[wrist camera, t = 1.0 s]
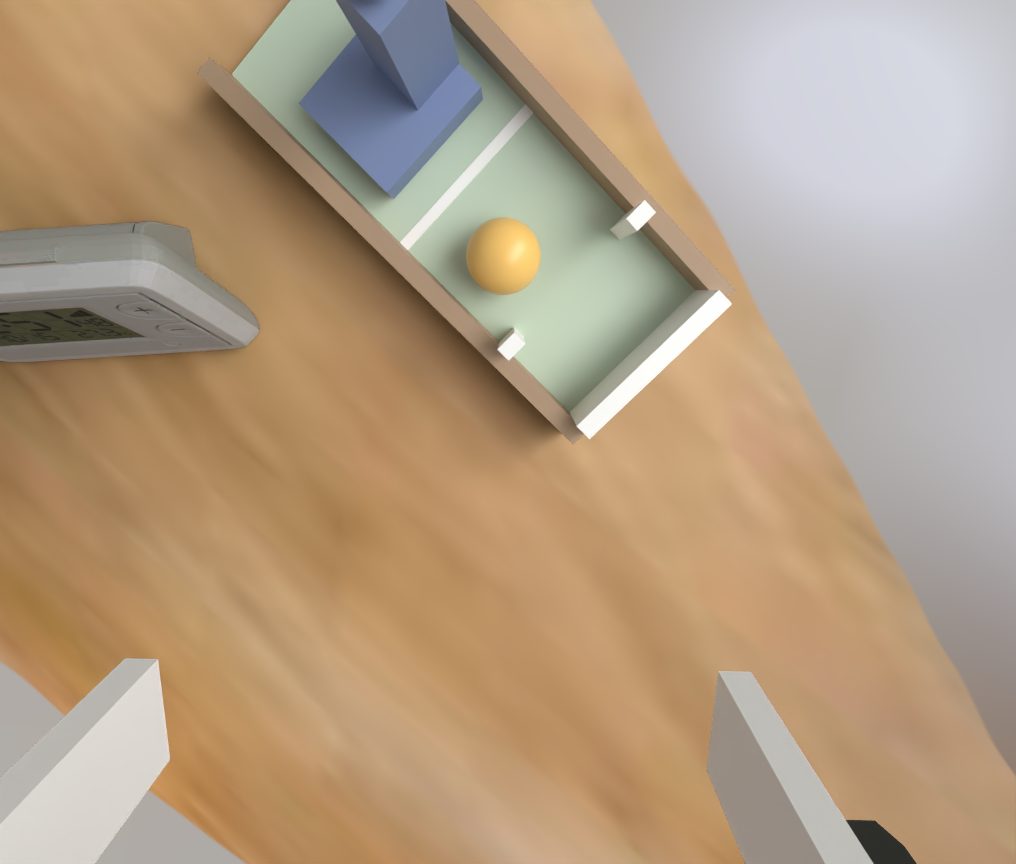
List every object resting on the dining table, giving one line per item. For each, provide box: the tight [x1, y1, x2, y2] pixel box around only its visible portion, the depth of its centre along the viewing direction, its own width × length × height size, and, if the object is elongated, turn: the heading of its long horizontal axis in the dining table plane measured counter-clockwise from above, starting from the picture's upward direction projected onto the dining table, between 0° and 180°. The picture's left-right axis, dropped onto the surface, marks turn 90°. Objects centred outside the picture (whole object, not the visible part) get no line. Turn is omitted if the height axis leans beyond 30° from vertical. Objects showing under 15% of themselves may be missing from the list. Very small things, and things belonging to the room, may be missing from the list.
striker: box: [299, 0, 483, 199], centre depth 25 cm, size 6×7×14 cm
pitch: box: [197, 0, 735, 444], centre depth 31 cm, size 27×12×6 cm, turn 45°
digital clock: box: [0, 221, 260, 362], centre depth 31 cm, size 16×9×11 cm, turn 82°
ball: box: [466, 217, 541, 295], centre depth 32 cm, size 4×4×4 cm
